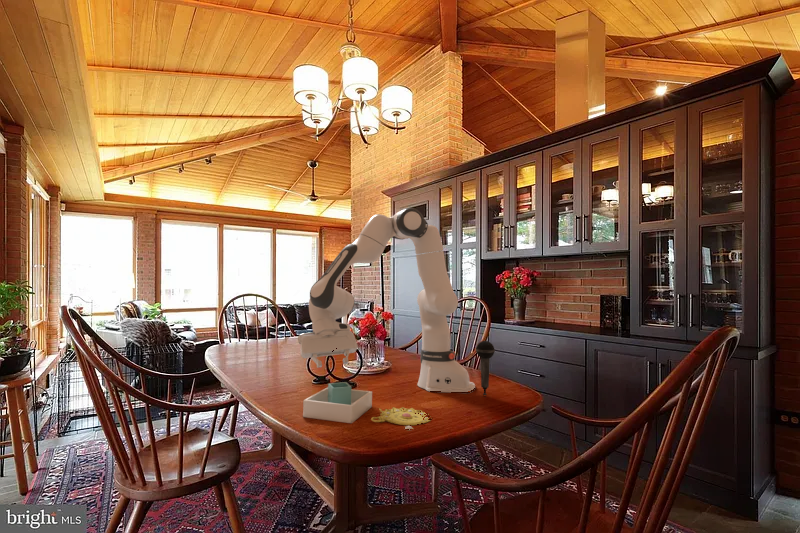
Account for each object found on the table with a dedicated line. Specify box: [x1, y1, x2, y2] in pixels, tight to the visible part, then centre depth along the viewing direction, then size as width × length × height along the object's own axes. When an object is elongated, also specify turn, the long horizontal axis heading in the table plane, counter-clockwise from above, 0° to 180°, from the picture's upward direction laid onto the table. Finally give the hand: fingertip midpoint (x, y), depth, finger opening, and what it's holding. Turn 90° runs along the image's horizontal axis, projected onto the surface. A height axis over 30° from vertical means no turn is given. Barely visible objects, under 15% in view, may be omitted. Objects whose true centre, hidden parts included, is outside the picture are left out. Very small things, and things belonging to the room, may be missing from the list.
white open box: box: [302, 386, 373, 424], centre depth 127 cm, size 16×16×5 cm
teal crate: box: [327, 381, 352, 405], centre depth 127 cm, size 6×6×8 cm
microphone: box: [475, 340, 496, 395], centre depth 146 cm, size 7×7×20 cm
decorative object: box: [370, 406, 431, 431], centre depth 123 cm, size 21×2×20 cm
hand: (333, 365), depth 140 cm, fingers open, 8 cm apart
